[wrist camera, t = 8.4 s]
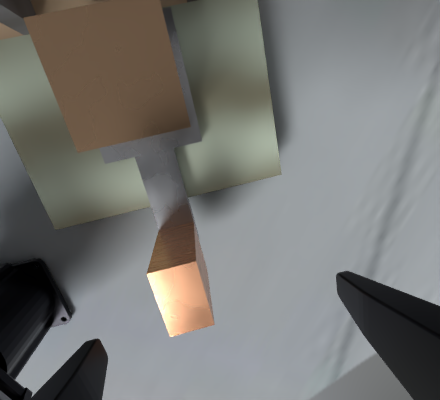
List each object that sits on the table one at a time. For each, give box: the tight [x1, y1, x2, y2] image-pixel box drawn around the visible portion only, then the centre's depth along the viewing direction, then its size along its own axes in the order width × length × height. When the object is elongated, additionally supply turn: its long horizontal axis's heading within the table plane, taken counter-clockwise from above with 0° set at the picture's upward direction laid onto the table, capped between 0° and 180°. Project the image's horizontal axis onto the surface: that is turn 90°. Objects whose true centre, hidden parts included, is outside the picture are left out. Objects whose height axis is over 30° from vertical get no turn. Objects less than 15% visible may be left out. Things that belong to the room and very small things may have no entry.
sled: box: [23, 0, 214, 337], centre depth 13 cm, size 16×6×6 cm, turn 12°
